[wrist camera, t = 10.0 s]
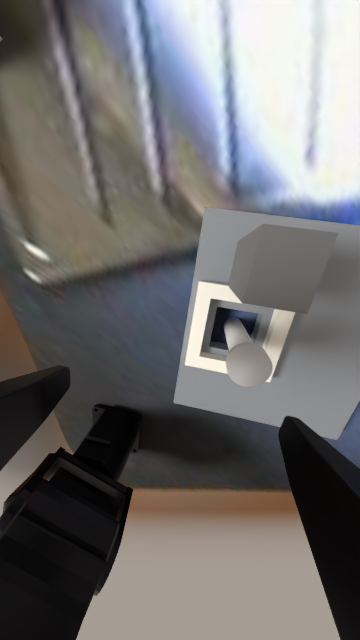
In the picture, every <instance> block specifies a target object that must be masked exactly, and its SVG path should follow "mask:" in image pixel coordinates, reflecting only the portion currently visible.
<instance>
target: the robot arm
mask: <svg viewBox="0 0 360 640" xmlns="http://www.w3.org/2000/svg"><path fill="white" fill-rule="evenodd" d="M69 387H70V369H69V368H68V367H65V366H55V367H51V368H48V369H44V370H41V371H37V372H34V373H30V374H26V375H23V376H19V377H16V378H12V379H9V380H5V381H1V382H0V471H1V469H2V468H3V467H4V466H5V465H6V464H7V462H8V461H9V460H10V459H11V458H12V457H13V456H14V455H15V454H16V452H17V451H18V450H19V449H20V448H21V447H22V446H23V445H24V444H25V443H26V441H27V440H28V439H29V438H30V437H31V436H32V435H33V433H34V432H35V431H36V430H37V429H38V428H39V427H40V425H41V424H42V423H43V422H44V421H45V419H46V418H47V417H48V416H49V414H50V413H51V412H52V410H53V409H54V408H55V406H56V405H57V404H58V402H59V401H60V400H61V398H62V397H63V396H64V394H65V393H66V392H67V390H68V389H69ZM137 418H138V419H137ZM141 423H142V417H141V415H139V414H135V413H131V412H127V411H123V410H118V409H114V408H110V407H106V406H102V405H95V406H94V407H93V427H92V428H91V429H90V431H89V432H88V434H87V435H86V436H85V438H84V439H83V441H82V442H81V444H80V445H79V446H78V448H77V449H76V451H75V452H74V454H73V455H71V454H70V453H68V452H66V451H65V449H63V448H62V447H60V448H59V449H58V450H57V452H56V453H49V454H48V456H47V457H46V458H45V459H44V460H43V462H42V463H41V464H40V465H39V467H38V468H37V469H36V470H35V471H34V472H33V473H32V474H31V475H30V476H29V477H28V478H27V479H26V480H25V481H24V482H23V483H22V484H21V485H20V486H19V487H18V488H17V489H16V490H15V491H14V492H13V493H12V494H11V495H10V496H9V497H8V498H7V500H6V501H5V502H4V507H3V514H2V516H1V517H0V640H76V638H77V635H78V632H79V629H80V627H81V624H82V621H83V618H84V617H85V614H86V611H87V609H88V607H89V605H90V602H91V600H92V597H93V595H94V596H97V595H98V593H99V592H100V591H101V589H102V587H103V586H104V584H105V582H106V580H107V578H108V576H109V573H110V571H111V569H112V566H113V564H114V561H115V558H116V556H117V553H118V549H119V546H120V543H121V539H122V535H123V531H124V526H125V522H126V518H127V513H128V509H129V505H130V500H131V496H132V492H133V489H132V488H130V487H126V486H124V485H122V484H121V483H119V482H118V481H119V479H120V476H121V474H122V471H123V469H124V466H125V464H126V462H127V459H128V457H129V454H130V452H131V453H138V450H139V444H140V434H141ZM278 436H279V442H280V446H281V450H282V454H283V459H284V463H285V467H286V471H287V476H288V479H289V483H290V487H291V490H292V493H293V496H294V499H295V502H296V505H297V508H298V511H299V515H300V517H301V521H302V524H303V526H304V530H305V533H306V536H307V539H308V542H309V545H310V548H311V551H312V554H313V557H314V560H315V563H316V566H317V569H318V572H319V575H320V578H321V582H322V585H323V587H324V591H325V594H326V597H327V600H328V603H329V606H330V609H331V612H332V615H333V618H334V621H335V624H336V627H337V630H338V633H339V636H340V639H341V640H360V469H359V468H358V467H357V466H355V465H354V464H353V463H352V462H351V461H349V460H348V459H347V458H346V457H345V456H343V455H342V454H341V453H340V452H339V451H337V450H336V449H335V448H334V447H333V446H331V445H330V444H329V443H328V442H327V441H325V440H324V439H323V438H322V437H321V436H319V435H318V434H317V433H316V432H315V431H313V430H312V429H311V428H310V427H308V426H307V425H306V424H305V423H304V422H302V421H301V420H300V419H299V418H297V417H292V416H285V418H284V420H283V422H282V425H281V427H280V429H279V433H278ZM47 479H48V480H49V481H48V480H47Z"/></svg>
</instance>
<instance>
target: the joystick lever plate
mask: <svg viewBox="0 0 360 640" xmlns="http://www.w3.org/2000/svg"><path fill="white" fill-rule="evenodd" d="M337 236H338V233H336V232H328V231H320V230H312V229H304V228H296V227H287V226H279V225H271V224H262V225H260V226H259V227H258V228H256V229H255V230H253V231H252V232H251V233H249V234H248V235H246V236H245V237H244V238H242V239H241V240H239V241H238V242H237V247H236V251H235V256H234V260H233V265H232V269H231V274H230V278H229V283H228V285H226V284H220V283H214V282H207V281H201V280H199V284H198V290H197V295H196V301H195V307H194V313H193V319H192V325H191V331H190V336H189V342H188V348H187V354H186V360H185V365H187V366H192V367H197V368H202V369H206V370H211V371H216V372H221V373H226V374H228V373H227V368H226V356H220V355H215V354H210V353H205V352H200V350H201V345H202V340H203V335H204V330H205V325H206V320H207V315H208V310H209V305H210V300H211V298H212V299H218V300H224V301H230V302H236V303H242V304H248V305H254V306H260V307H266V308H272V309H274V312H273V315H272V319H271V322H270V325H269V328H268V331H267V334H266V337H265V340H264V344H263V347H262V348H263V349H264V350H265V351H266V353H267V354H268V356H269V358H270V359H271V361H272V365H273V370H272V373H271V375H270V377H269V378H268V380H266V381H265V382H270V381H271V378H272V376H273V373H274V370H275V367H276V365H277V362H278V359H279V356H280V354H281V351H282V348H283V345H284V342H285V340H286V337H287V334H288V331H289V329H290V326H291V323H292V320H293V317H294V315H295V312H297V313H303V314H308V311H309V309H310V306H311V303H312V301H313V298H314V296H315V293H316V290H317V288H318V285H319V283H320V280H321V277H322V275H323V272H324V270H325V267H326V264H327V262H328V259H329V257H330V254H331V251H332V249H333V246H334V244H335V241H336V238H337Z"/></svg>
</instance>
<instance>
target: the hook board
mask: <svg viewBox="0 0 360 640" xmlns="http://www.w3.org/2000/svg"><path fill="white" fill-rule="evenodd" d="M262 224H271V225H279V226H287V227H296V228H304V229H312V230H320V231H328V232H336V233H338V236H337V238H336V241H335V244H334V246H333V249H332V251H331V254H330V257H329V259H328V262H327V264H326V267H325V270H324V272H323V275H322V277H321V280H320V283H319V285H318V288H317V290H316V293H315V296H314V298H313V301H312V303H311V306H310V309H309V311H308V314H303V313H297V312H295V315H294V317H293V320H292V323H291V326H290V329H289V331H288V334H287V337H286V340H285V342H284V345H283V348H282V351H281V354H280V356H279V359H278V362H277V365H276V367H275V370H274V373H273V376H272V378H271V381H270V382H265V381H266V380H268V378H269V377H270V375H271V373H272V370H273V365H272V361H271V359H270V358H269V356H268V354H267V353H266V351H265V350H264V349H263V348H262V347H263V344H264V340H265V337H266V334H267V331H268V328H269V325H270V322H271V319H272V315H273V312H274V309H272V308H266V307H260V306H254V305H248V304H242V303H236V302H230V301H224V300H218V299H212V298H211V300H210V305H209V310H208V315H207V320H206V325H205V330H204V335H203V340H202V345H201V350H200V352H205V353H210V354H215V355H220V356H226V368H227V373H228V374H226V373H221V372H216V371H211V370H206V369H202V368H197V367H192V366H187V365H185V360H186V354H187V348H188V342H189V336H190V331H191V325H192V319H193V313H194V307H195V301H196V295H197V290H198V284H199V280H201V281H207V282H214V283H220V284H226V285H228V283H229V278H230V274H231V269H232V265H233V260H234V256H235V251H236V247H237V242H238V241H239V240H241V239H242V238H244V237H245V236H246V235H248V234H249V233H251V232H252V231H253V230H255V229H256V228H258V227H259V226H260V225H262ZM217 307H223V308H229V309H235V310H240V311H246V312H252V313H258V315H257V319H256V322H255V326H254V329H253V332H252V336H251V338H250V337H249V335H248V333H247V331H246V329H245V328H244V326H243V324H242V322H241V321H240V320H239V319H238V318H235V317H231V318H228V319H227V320H226V321H225V322H224V325H223V327H224V332H225V336H226V340H227V344H226V343H220V342H215V341H210V339H211V334H212V330H213V325H214V320H215V316H216V311H217ZM359 401H360V225H351V224H343V223H334V222H326V221H318V220H309V219H301V218H292V217H284V216H275V215H267V214H259V213H250V212H242V211H233V210H225V209H216V208H208V207H205V210H204V216H203V222H202V229H201V235H200V241H199V247H198V253H197V260H196V266H195V272H194V278H193V285H192V291H191V297H190V303H189V309H188V316H187V322H186V328H185V334H184V340H183V347H182V353H181V359H180V365H179V372H178V378H177V384H176V390H175V396H174V403H177V404H181V405H186V406H190V407H194V408H199V409H203V410H208V411H212V412H216V413H221V414H225V415H230V416H234V417H238V418H243V419H247V420H252V421H256V422H260V423H265V424H269V425H274V426H278V427H281V425H282V422H283V420H284V418H285V416H292V417H297V418H299V419H300V420H301V421H302V422H304V423H305V424H306V425H307V426H308V427H310V428H311V429H312V430H313V431H315V432H316V433H317V434H318V435H319V436H322V437H326V438H331V439H335V440H337V439H338V437H339V436H340V434H341V432H342V431H343V429H344V427H345V425H346V424H347V422H348V420H349V418H350V417H351V415H352V413H353V411H354V410H355V408H356V406H357V404H358V403H359Z"/></svg>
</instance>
